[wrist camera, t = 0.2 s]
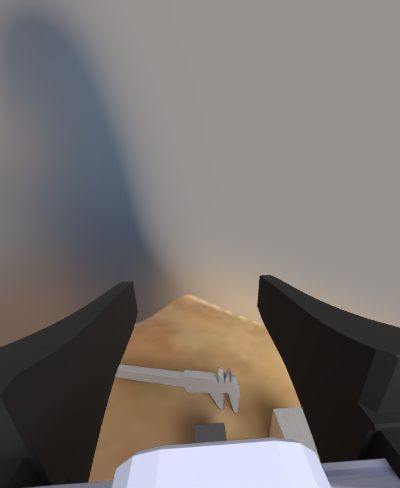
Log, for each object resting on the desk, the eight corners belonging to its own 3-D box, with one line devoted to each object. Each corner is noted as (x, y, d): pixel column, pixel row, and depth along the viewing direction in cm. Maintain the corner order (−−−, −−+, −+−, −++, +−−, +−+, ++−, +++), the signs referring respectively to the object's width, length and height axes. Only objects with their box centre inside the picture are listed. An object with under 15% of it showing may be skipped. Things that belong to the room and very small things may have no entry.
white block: (344, 532, 16) (360, 494, 15) (297, 537, 16) (307, 499, 14) (303, 441, 22) (311, 406, 20) (268, 444, 22) (273, 408, 20)
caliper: (238, 406, 26) (241, 369, 24) (237, 416, 25) (240, 378, 23) (106, 368, 31) (99, 335, 29) (101, 374, 30) (94, 341, 28)
